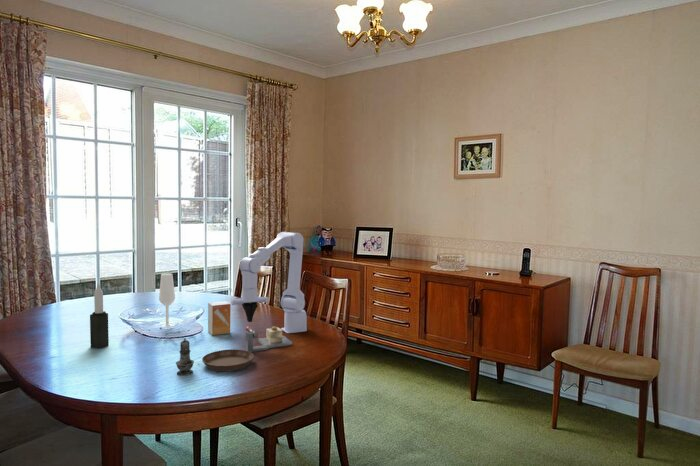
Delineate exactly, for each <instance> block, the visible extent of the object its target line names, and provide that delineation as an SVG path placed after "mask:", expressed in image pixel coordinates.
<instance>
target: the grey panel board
mask: <svg viewBox="0 0 700 466" xmlns="http://www.w3.org/2000/svg"><path fill="white" fill-rule="evenodd" d="M257 342H258V343H259V344H260V345H255V346H254V339H253V333H252V332H248V331H246V332H245V351H249V352H251V353H254V352H260V351H267V350H269V349H272V348H278V347H279V348H280V347H287V346H293V341H291V340H290V338H287V337H286V336H285V335H283V334H282V341H281V342H274V343H270V342H269V341H268V340H266V337H259V338H257Z"/></svg>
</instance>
